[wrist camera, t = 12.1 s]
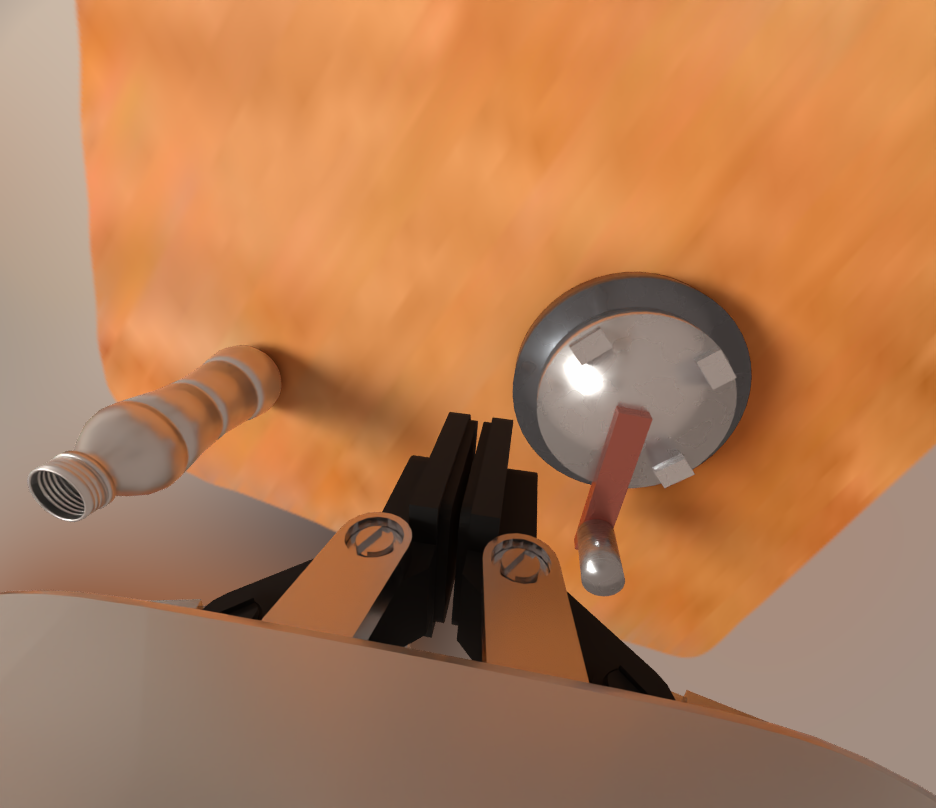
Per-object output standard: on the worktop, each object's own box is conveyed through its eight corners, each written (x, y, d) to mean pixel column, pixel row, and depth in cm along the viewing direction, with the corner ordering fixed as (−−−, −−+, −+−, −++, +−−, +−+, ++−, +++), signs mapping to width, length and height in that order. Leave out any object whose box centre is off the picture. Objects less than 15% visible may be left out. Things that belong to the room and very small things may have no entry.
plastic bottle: (270, 331, 41) (60, 432, 23) (302, 396, 44) (133, 534, 26) (215, 348, 43) (-23, 455, 25) (248, 410, 45) (53, 549, 27)
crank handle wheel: (754, 325, 32) (825, 366, 24) (663, 539, 40) (692, 621, 32) (558, 291, 33) (563, 320, 25) (510, 507, 41) (502, 579, 33)
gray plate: (542, 251, 35) (542, 255, 32) (776, 297, 34) (797, 306, 31) (496, 445, 43) (493, 462, 40) (685, 488, 41) (695, 509, 39)
